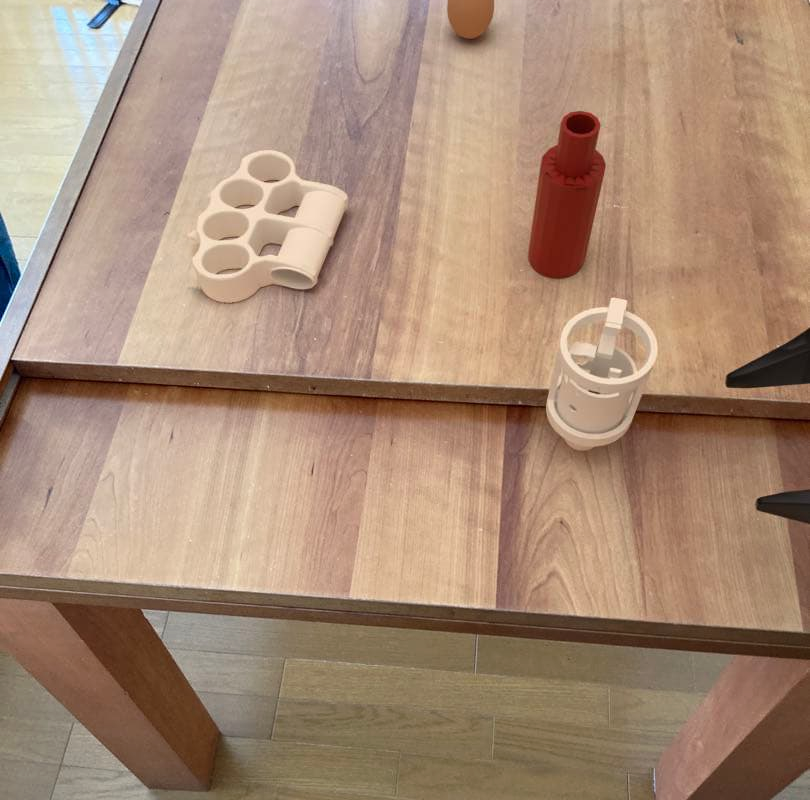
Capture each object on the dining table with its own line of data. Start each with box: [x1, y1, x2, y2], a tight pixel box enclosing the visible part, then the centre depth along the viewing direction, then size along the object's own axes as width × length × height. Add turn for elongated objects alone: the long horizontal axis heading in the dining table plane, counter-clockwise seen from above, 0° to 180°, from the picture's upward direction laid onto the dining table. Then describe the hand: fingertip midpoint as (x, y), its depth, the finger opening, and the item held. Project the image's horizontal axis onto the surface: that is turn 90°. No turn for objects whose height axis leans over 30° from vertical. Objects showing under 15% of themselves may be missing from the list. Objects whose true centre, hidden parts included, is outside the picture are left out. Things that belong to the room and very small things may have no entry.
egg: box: [446, 0, 495, 40], centre depth 94 cm, size 5×5×7 cm
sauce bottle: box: [527, 110, 607, 279], centre depth 75 cm, size 6×6×15 cm
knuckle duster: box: [185, 149, 350, 304], centre depth 83 cm, size 3×18×15 cm
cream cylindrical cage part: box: [545, 297, 659, 452], centre depth 66 cm, size 7×7×15 cm
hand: (740, 440), depth 52 cm, fingers open, 9 cm apart
